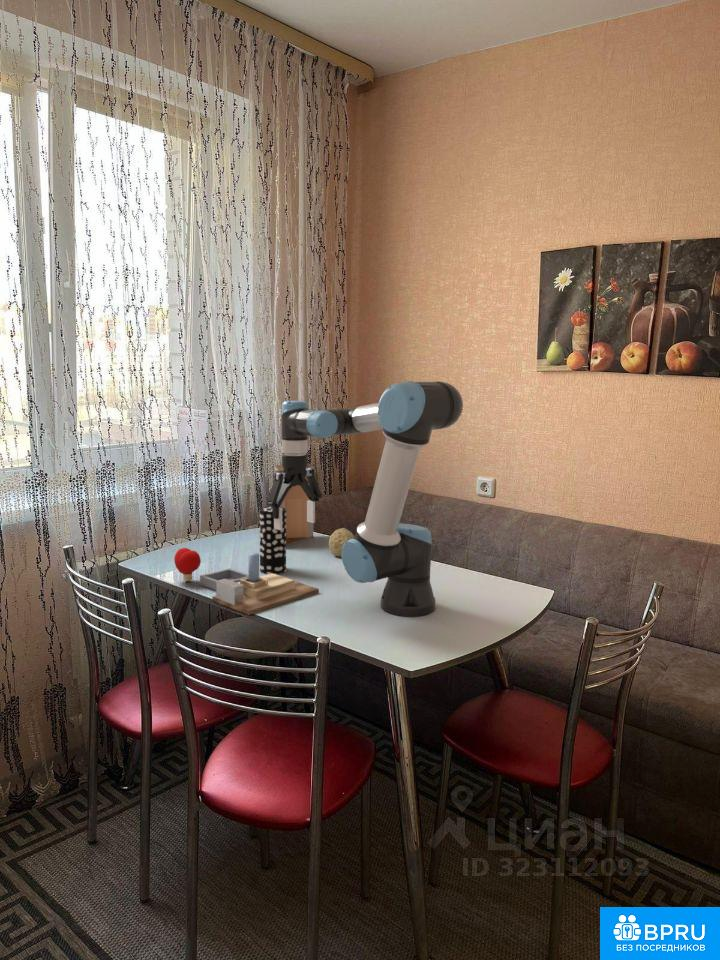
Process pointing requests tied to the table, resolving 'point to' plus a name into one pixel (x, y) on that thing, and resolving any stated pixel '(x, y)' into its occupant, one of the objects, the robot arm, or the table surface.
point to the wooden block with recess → (266, 586)
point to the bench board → (270, 599)
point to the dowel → (253, 567)
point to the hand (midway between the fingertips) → (294, 525)
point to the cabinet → (296, 512)
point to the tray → (229, 574)
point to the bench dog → (229, 591)
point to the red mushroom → (187, 562)
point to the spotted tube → (272, 543)
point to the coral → (339, 540)
